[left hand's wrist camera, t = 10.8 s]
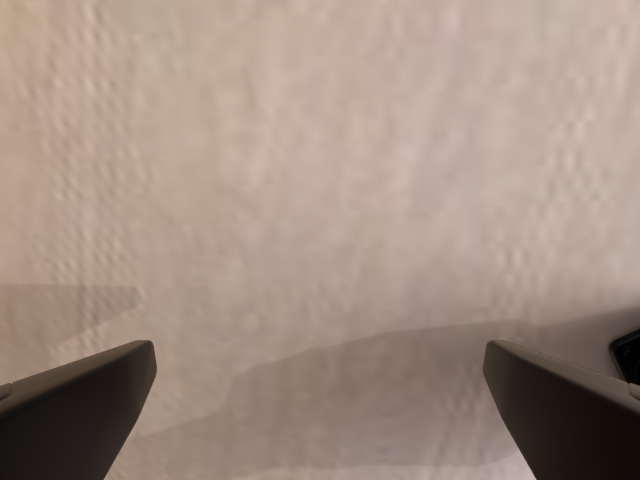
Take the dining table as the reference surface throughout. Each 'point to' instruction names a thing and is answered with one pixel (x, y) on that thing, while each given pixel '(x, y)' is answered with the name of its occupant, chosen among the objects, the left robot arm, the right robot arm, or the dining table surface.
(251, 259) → the dining table surface
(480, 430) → the dining table surface
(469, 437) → the dining table surface
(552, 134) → the dining table surface
